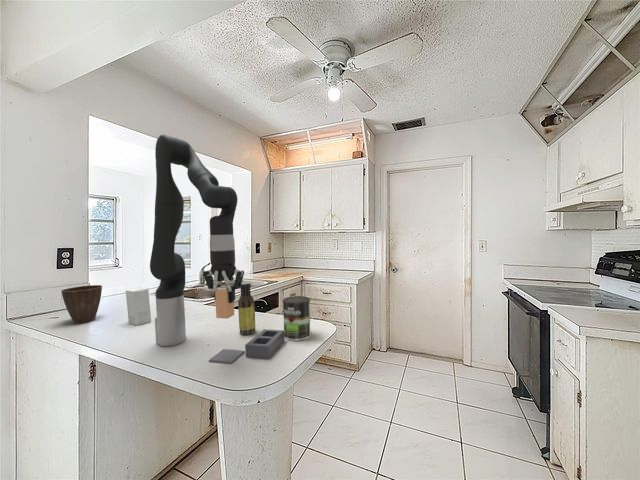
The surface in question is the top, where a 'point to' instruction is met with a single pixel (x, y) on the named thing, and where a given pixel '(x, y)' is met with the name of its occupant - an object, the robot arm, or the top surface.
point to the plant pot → (82, 302)
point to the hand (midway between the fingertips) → (224, 302)
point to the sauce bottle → (246, 310)
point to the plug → (223, 303)
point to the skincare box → (138, 306)
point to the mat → (227, 356)
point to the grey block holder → (265, 344)
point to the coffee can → (296, 318)
